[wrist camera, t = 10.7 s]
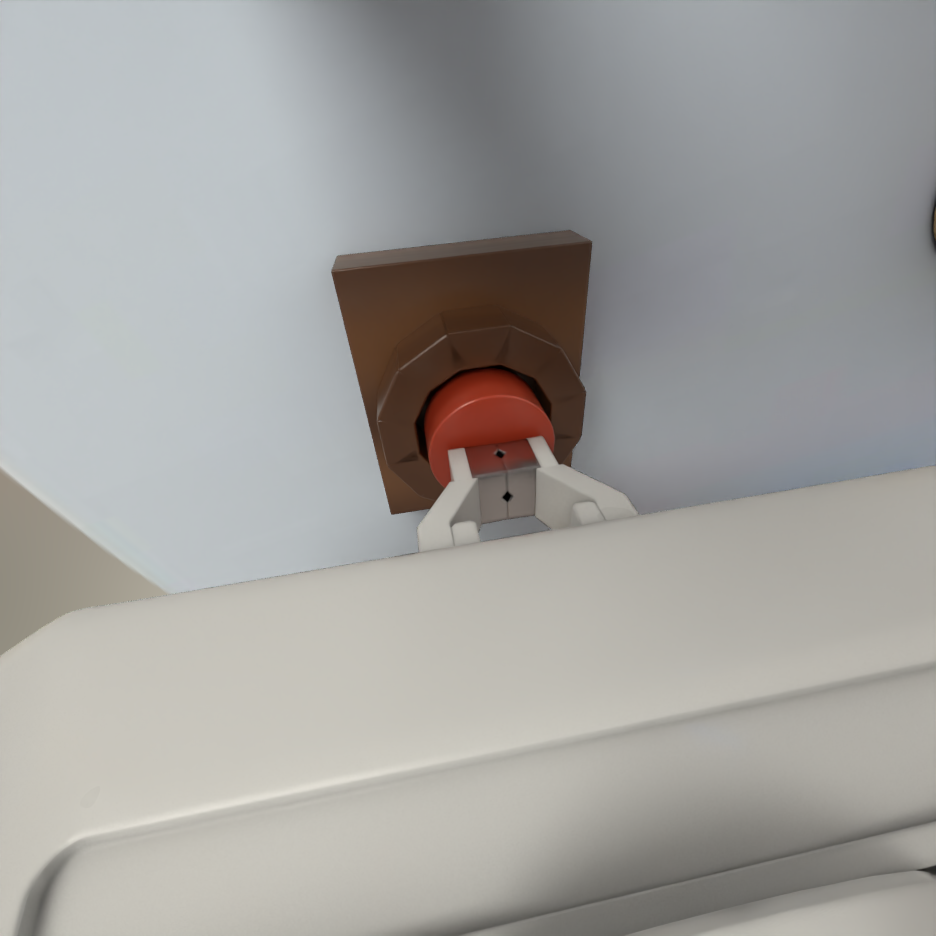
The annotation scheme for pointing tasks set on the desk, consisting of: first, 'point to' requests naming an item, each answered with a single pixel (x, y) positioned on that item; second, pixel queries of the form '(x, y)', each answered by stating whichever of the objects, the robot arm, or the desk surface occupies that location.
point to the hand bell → (935, 224)
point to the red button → (481, 415)
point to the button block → (462, 338)
